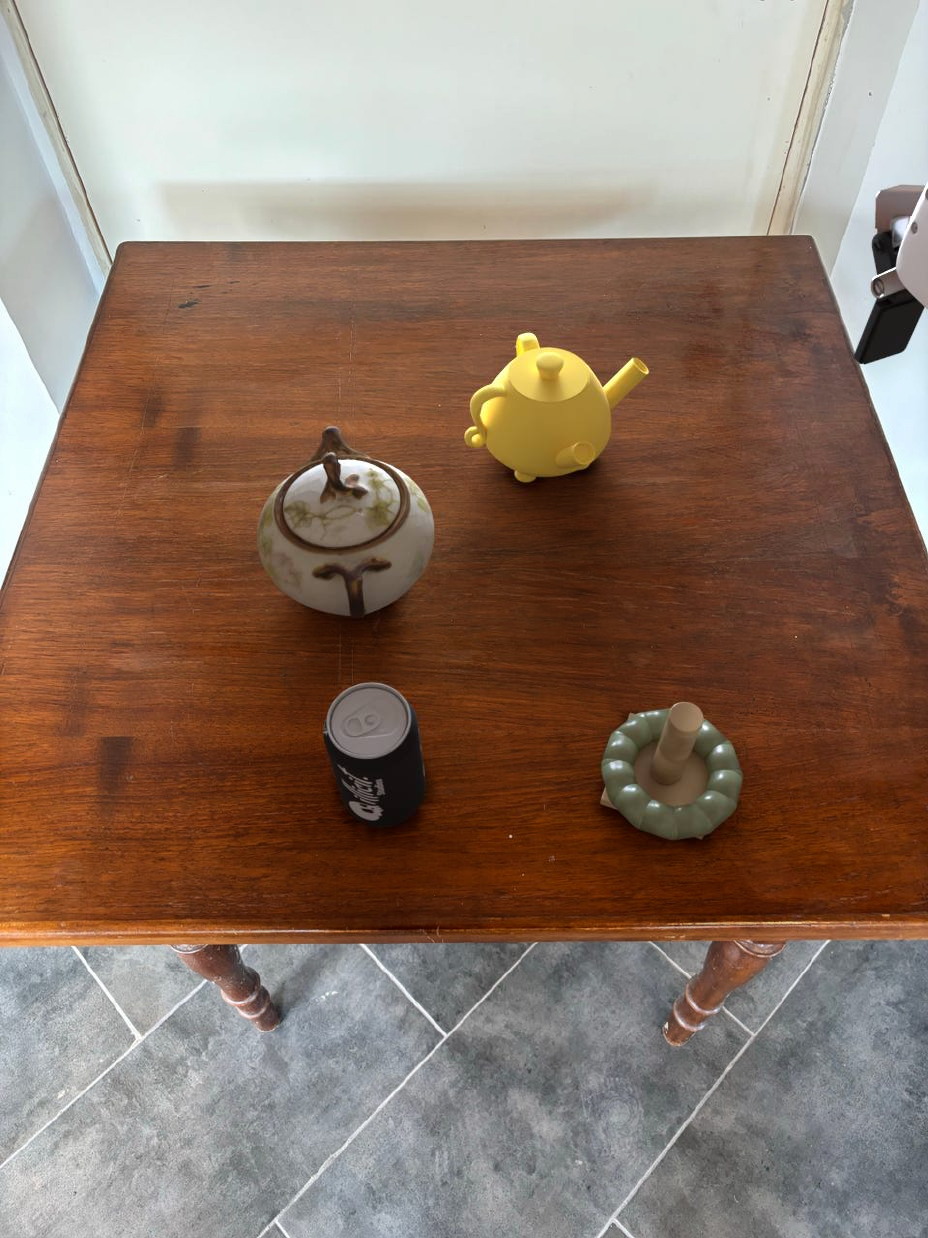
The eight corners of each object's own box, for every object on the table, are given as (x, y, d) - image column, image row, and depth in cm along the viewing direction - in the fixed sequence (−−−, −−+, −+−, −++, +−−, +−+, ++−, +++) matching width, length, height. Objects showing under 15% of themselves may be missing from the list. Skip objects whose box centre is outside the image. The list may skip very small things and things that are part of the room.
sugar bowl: (265, 507, 90) (230, 388, 78) (420, 485, 91) (409, 364, 79) (280, 683, 79) (242, 578, 67) (455, 655, 81) (449, 546, 68)
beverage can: (438, 813, 73) (431, 743, 63) (357, 843, 71) (336, 777, 61) (409, 741, 76) (398, 664, 66) (331, 769, 75) (308, 695, 65)
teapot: (580, 524, 88) (592, 439, 79) (453, 473, 92) (450, 386, 83) (640, 427, 95) (657, 338, 86) (520, 383, 99) (524, 294, 90)
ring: (749, 742, 74) (757, 728, 72) (720, 863, 69) (727, 851, 67) (621, 702, 77) (625, 687, 75) (584, 815, 71) (587, 803, 69)
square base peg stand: (725, 750, 75) (755, 687, 67) (701, 840, 71) (730, 785, 63) (628, 718, 77) (645, 653, 69) (599, 804, 73) (614, 746, 64)
